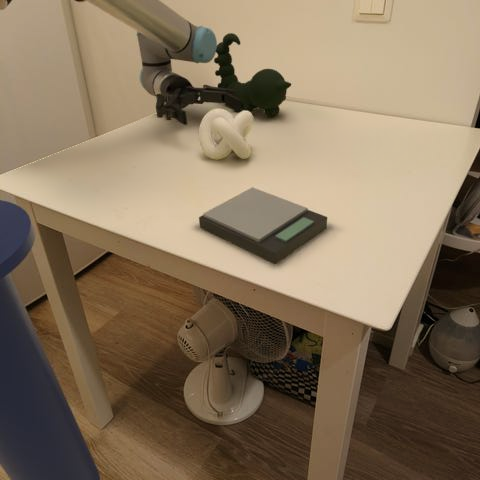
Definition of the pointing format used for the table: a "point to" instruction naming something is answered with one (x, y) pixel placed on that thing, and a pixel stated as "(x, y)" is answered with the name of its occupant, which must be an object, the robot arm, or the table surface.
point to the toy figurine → (251, 82)
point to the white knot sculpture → (225, 133)
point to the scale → (263, 224)
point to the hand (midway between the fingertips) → (213, 112)
